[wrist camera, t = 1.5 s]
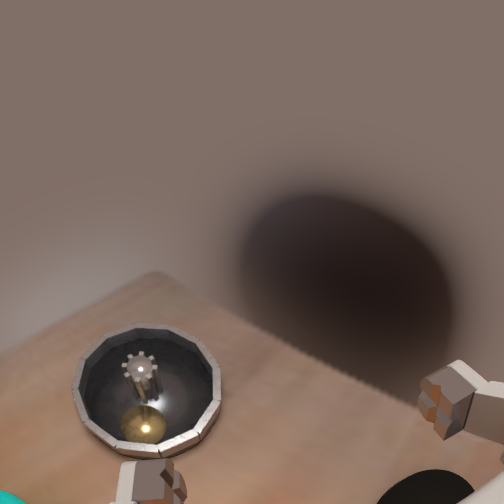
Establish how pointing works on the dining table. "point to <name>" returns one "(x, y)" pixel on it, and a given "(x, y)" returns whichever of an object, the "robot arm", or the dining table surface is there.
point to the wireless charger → (428, 489)
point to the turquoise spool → (9, 498)
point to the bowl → (148, 390)
